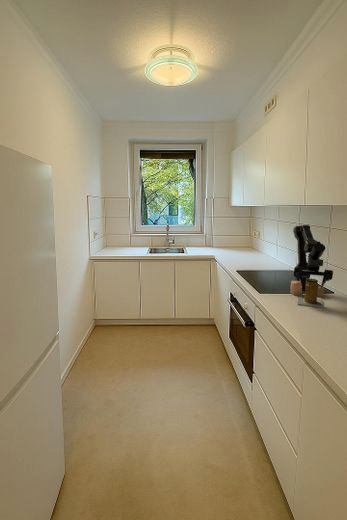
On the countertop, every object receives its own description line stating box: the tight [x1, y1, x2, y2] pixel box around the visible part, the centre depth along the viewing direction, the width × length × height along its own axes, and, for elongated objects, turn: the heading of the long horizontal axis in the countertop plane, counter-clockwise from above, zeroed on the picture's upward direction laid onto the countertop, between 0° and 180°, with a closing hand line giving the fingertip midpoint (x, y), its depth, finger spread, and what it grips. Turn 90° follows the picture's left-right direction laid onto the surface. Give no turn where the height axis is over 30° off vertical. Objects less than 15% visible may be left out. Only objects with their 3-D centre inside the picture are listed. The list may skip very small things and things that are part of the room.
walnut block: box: [317, 284, 325, 298], centre depth 175 cm, size 5×5×5 cm
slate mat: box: [297, 296, 324, 309], centre depth 161 cm, size 12×12×1 cm
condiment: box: [303, 278, 322, 304], centre depth 160 cm, size 7×8×12 cm
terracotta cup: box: [289, 280, 303, 296], centre depth 178 cm, size 6×6×7 cm
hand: (311, 287), depth 159 cm, fingers open, 9 cm apart
